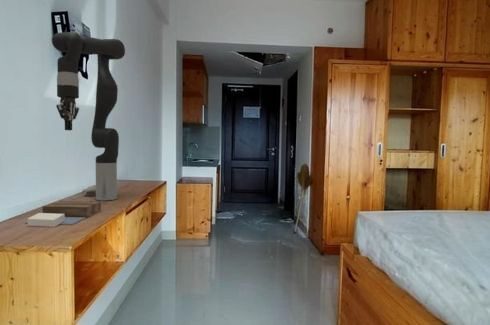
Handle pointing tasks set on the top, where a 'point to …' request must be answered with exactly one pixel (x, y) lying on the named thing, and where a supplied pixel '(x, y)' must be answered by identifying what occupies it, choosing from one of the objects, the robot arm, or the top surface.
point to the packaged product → (90, 190)
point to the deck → (73, 208)
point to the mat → (70, 220)
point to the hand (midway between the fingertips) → (68, 130)
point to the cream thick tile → (46, 219)
